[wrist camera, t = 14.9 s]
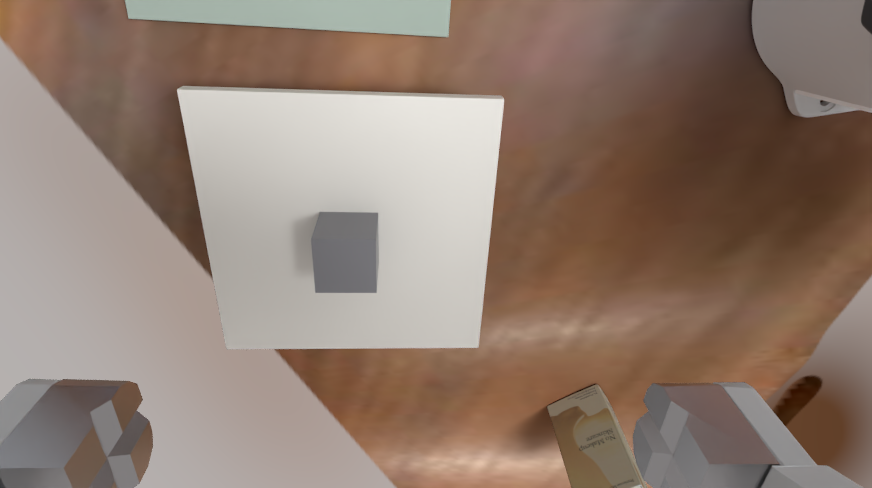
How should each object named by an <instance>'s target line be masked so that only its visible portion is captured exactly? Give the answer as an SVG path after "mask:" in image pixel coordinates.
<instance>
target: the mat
mask: <svg viewBox="0 0 872 488" xmlns="http://www.w3.org/2000/svg"><path fill="white" fill-rule="evenodd" d="M125 3H126V8H127V13H128V18H129V19H145V20H162V21H179V22H196V23H214V24H231V25H248V26H265V27H282V28H300V29H317V30H334V31H351V32H368V33H386V34H403V35H420V36H437V37H448V34H449V19H450V5H451V0H125Z"/></svg>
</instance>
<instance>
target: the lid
mask: <svg viewBox="0 0 872 488" xmlns="http://www.w3.org/2000/svg"><path fill="white" fill-rule="evenodd" d="M177 93H178V98H179V103H180V108H181V114H182V119H183V124H184V129H185V135H186V140H187V145H188V150H189V156H190V161H191V166H192V172H193V177H194V182H195V187H196V193H197V198H198V203H199V208H200V214H201V219H202V224H203V229H204V235H205V240H206V245H207V250H208V256H209V261H210V266H211V271H212V277H213V282H214V287H215V292H216V297H217V303H218V308H219V313H220V318H221V324H222V329H223V335H224V340H225V345H226V349H359V348H478V347H479V337H480V328H481V318H482V309H483V299H484V289H485V280H486V270H487V261H488V251H489V241H490V232H491V222H492V213H493V203H494V193H495V184H496V174H497V165H498V155H499V145H500V136H501V126H502V117H503V107H504V98H503V97H502V96H496V95H463V94H430V93H398V92H365V91H332V90H300V89H267V88H234V87H202V86H182V87H180V88H178V89H177Z"/></svg>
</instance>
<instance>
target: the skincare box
mask: <svg viewBox="0 0 872 488" xmlns="http://www.w3.org/2000/svg"><path fill="white" fill-rule="evenodd" d="M547 408H548V412H549V415H550V418H551V421H552V425H553V428H554V431H555V435H556V438H557V441H558V445H559V448H560V451H561V455H562V458H563V461H564V465H565V468H566V471H567V474H568V478H569V481H570V484H571V487H572V488H647V486H646V483H645V481H644V480H643V478H642V476H641V473H640V471H639V469H638V466H637V463H636V461H635V458H634V456H633V454H632V452H631V449H630V447H629V445H628V443H627V440H626V438H625V436H624V433H623V431H622V429H621V427H620V424H619V422H618V420H617V418H616V415H615V413H614V411H613V409H612V406H611V405H610V403H609V401H608V399H607V397H606V396H605V394H604V392H603V391H602V389H601V388H600V387H599V385H598V384H596V385H593V386H591V387H589V388H586V389H584V390H582V391H579V392H577V393H575V394H572V395H570V396H568V397H566V398H564V399H561V400H559V401H557V402H555V403H553V404H551V405H548V406H547Z"/></svg>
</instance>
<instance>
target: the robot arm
mask: <svg viewBox="0 0 872 488" xmlns="http://www.w3.org/2000/svg"><path fill="white" fill-rule="evenodd" d="M752 30H753V36H754V41H755V44H756V48H757V50H758V53H759V55H760V57H761V59H762V60H763V62H764V63H765V65H766V66H767V67H768V68H769V70H770V71H771V72H772V73H773V74H774V75H775V76H776V77H777V78H778V79H779V81H780V82H781V83H782V85H783V89H784V94H785V98H786V102H787V105H788V108H789V110H790V112H791V113H792V114H794V115H796V116H801V117H806V118H809V117H817V116H823V115H830V114H837V113H843V112H850V111H857V110H862V111H866V112H870V113H872V0H753V7H752ZM821 100H823V101H822V102H821V103H820V101H821ZM142 400H143V399H142V396H141V393H140V390H139V388H138V385H137V384H136V383H133V382H130V381H108V380H71V379H63V380H45V379H28V380H26V381H23V382H21V383H19V384H17V385H16V386H15V387H14V388H13V389H12V390H11V391H10V392H9V393H8V394H7V395H6V396H5V397H4V398H3V399H2V400H1V401H0V488H134V487H135V486H137V484H139V483H140V481H141V479H142V477H143V475H144V473H145V471H146V469H147V467H148V464H149V460H150V456H151V452H152V448H153V438H152V437H153V436H152V429H151V425H150V422H149V420H148V419H147V418H145V417H144V416H143V415H141V414H140V413H139V412H138V411H136V410H137V408H138V407H139V405H140V404H141V402H142ZM644 403H645V405H646V407H647V409H648V410H649V411H648V412H647V413H646V414H644V415H643V416H642V417H641V418H640V419H638V420H637V423H636V426H635V430H634V434H633V448H634V455H635V459H636V463H637V466H638V469H639V471H640V473H641V476H642V478H643V480H644V481H646V482H647V483H648V484H649V485H650V486H652V487H653V488H863V487H861V486H860V485H858V484H856V483H855V482H853V481H852V480H850V479H848V478H847V477H845V476H843V475H842V474H840V473H839V472H837V471H835V470H833V469H832V468H830V467H829V466H818V465H816V463H814V461H813V460H812V458H811V457H810V456H809V455H808V454H807V452H806V451H805V450H804V449H803V448H802V446H801V445H800V444H799V443H798V441H797V440H796V439H795V438H794V437H793V435H792V434H791V433H790V432H789V430H788V429H787V428H786V427H785V426H784V424H783V423H782V422H781V421H780V419H779V418H778V417H777V416H776V415H775V413H774V412H773V411H772V410H771V408H770V407H769V406H768V405H767V404H766V402H765V401H764V400H763V399H762V397H761V396H760V395H759V394H758V393H757V391H756V390H755V389H754V388H753V387H752V386H750V385H748V384H747V383H745V382H714V383H653V384H652V385H651V386H650V387H649V388H648V389H647V392H646V395H645V398H644Z"/></svg>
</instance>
